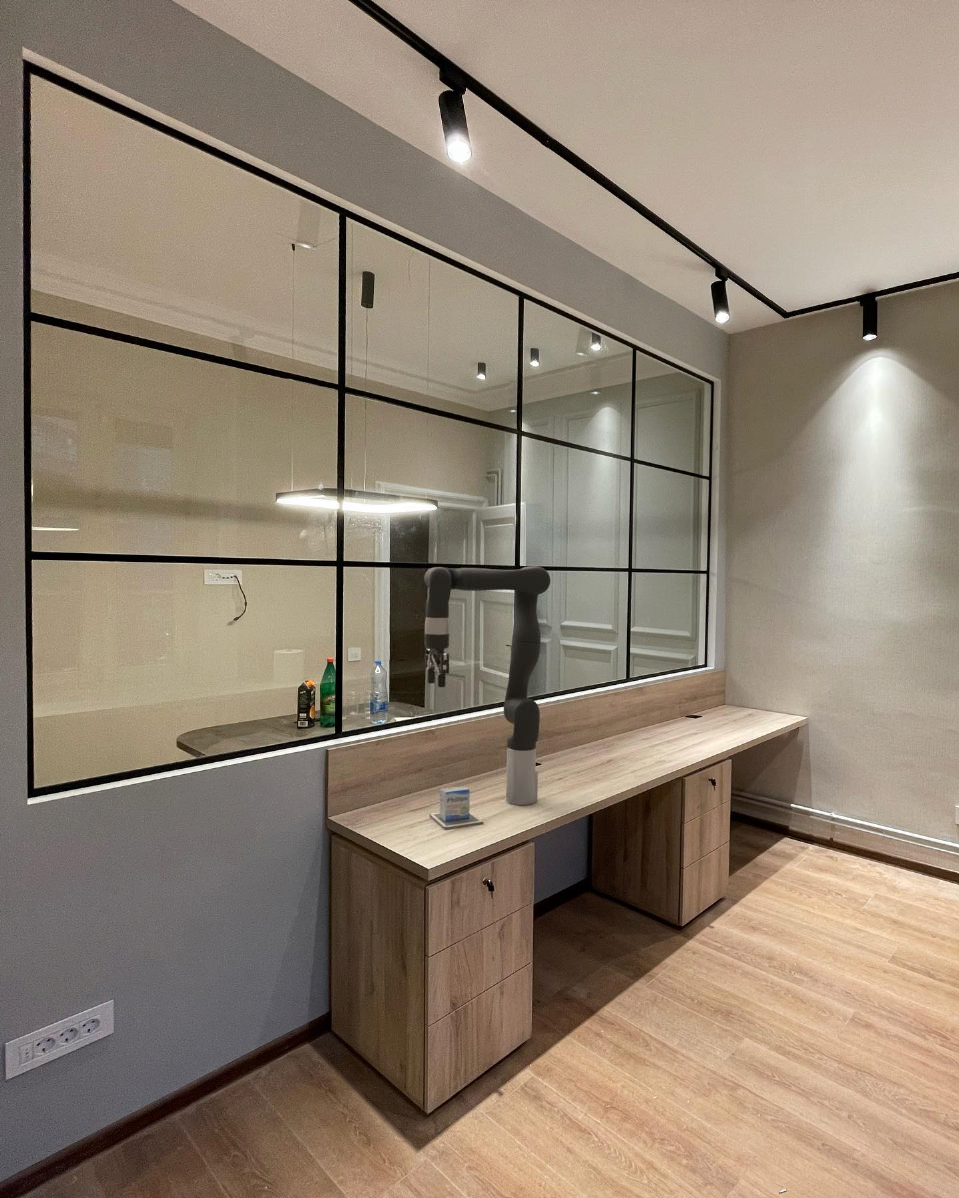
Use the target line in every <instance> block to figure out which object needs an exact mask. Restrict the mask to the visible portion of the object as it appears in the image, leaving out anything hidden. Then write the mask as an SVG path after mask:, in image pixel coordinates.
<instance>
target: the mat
mask: <svg viewBox="0 0 959 1198" xmlns="http://www.w3.org/2000/svg"><path fill="white" fill-rule="evenodd" d="M439 816H440V811H439V812H434V813H433V812H432V813H429V817H430V818H431V819H432V820H433V821H434V822H436V823H437V825H439V827H441V828H442V829H443V830H444V831H445V830H451V829H458V828H465V827H471V826H477V825H483V824H484V821H483V820H482V819H481V818H480V817H478V816H476V815H475V814H474V813H473V812H471V811H470V810H469V818H467V819H461V820H455V821H448V822H445V821H444V820H443V819H441V818H440V817H439Z"/></svg>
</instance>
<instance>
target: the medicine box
mask: <svg viewBox="0 0 959 1198" xmlns="http://www.w3.org/2000/svg"><path fill="white" fill-rule="evenodd" d="M470 793H471V791H470V789H469V788H468V787H466V786H464V785H461V786H454V787H446V788H445V787H444V788H443V787H442V788H439V812H440V816H439V817H440V818H441V819H443V820H444V821H445V822H448V821H455V820H461V819H467V818H469V811H470V806H471V803H470V802H471V800H470V798H471V796H470V795H471V794H470Z"/></svg>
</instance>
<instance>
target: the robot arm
mask: <svg viewBox="0 0 959 1198" xmlns="http://www.w3.org/2000/svg"><path fill="white" fill-rule="evenodd" d="M423 581H424V584H425V585H426V587H427V588H428V591H429V592H428V599H427V600H426V603H425V622H424V648H426V649H425V650H424V669H426V672H427V683H428V684H435V683H436V671H437V688H446V675H447V674H449V673H450V653H449V652H448V653H447V652H445V649H449V647H450V620H449V616H450V614H449V613H450V608H449V607H450V605H449V603H450V598H451V592H452V590H458V591H467V592H468V591H469V592H471V591H472V592H480V591H483V592H487V591H514V593H515V594H514V595H515V596H514V598H515V599H514V600H515V603H514V604H515V607H514V609H515V610H514V616H513V627H512V628H513V629H512V636H511V648H510V661H509V671H508V682H507V686H506V687H507V688H506V691H505V692H506V693H505V697H504V702H503V703H504V704H503V715H504V717H505V720H506V721H507V722H508V723H510V724H513V733H512V735H511V736H508V738H507V740H506V783H505V785H506V786H505V787H506V788H505V800H506V802H507V803H509V804H511V805H516V806H528V805H532V804H534V803H535V802H538V792H539V787H538V786H539V783H538V782H539V772H538V771H536V765H537V764H536V762H537V761H536V755H537V754H536V753H537V751H536V750H537V749H536V748H537V742H538V739H539V736H540V734H539V733H540V720H541V719H540V718H541V717H540V716H541V715H540V713H541V711H540V707H539V705H538V703H537V702H536V701H534V700H533V699H532V698H528V691H529V689H528V688H529V682H530V678H531V676H532V674H533V672H534V669H535V668H536V665H538V661H539V657H540V651H541V642H542V641H541V640H542V639H541V636H542V635H541V629H540V625H539V619H538V613H537V607H538V606H537V605H538V598H539V595H543V593H545V592H546V591H547V590H548V589H549V588H550V585H551V577H550V574H549V572H548V571H547V570H546V569H545V568H543V567H541V566H538V565H537V566H536V565H533V566H530V565H529V566H525V567H522V568H520V569H491V568H480V567H461V568H450V567H449V568H448V567H441V566H438V567H437V566H435V567H430V569H427V571H426V572H425V574H424V578H423Z"/></svg>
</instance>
